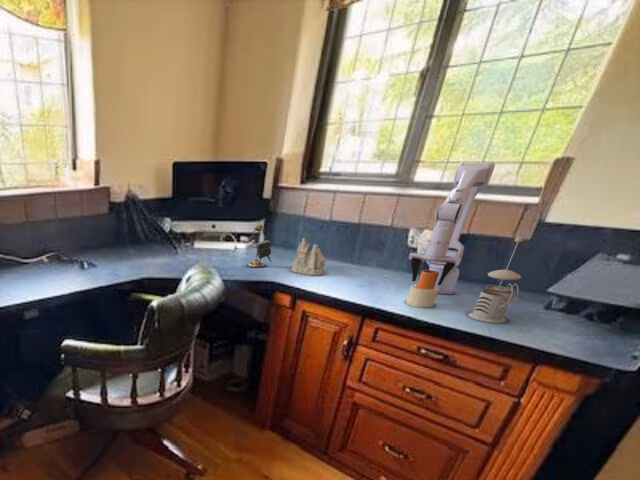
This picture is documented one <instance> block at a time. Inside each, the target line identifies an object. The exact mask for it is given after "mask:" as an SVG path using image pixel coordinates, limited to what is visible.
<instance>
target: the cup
mask: <svg viewBox="0 0 640 480" xmlns="http://www.w3.org/2000/svg"><path fill="white" fill-rule="evenodd" d="M438 275H439V272H438V271H434V270H429V269H422V270H420V273H419V276H418V279H417V283H416V284H417V286H416V287H418V288H421V289H434V287H435V284H436V281H437V278H438Z"/></svg>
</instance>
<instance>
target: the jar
mask: <svg viewBox="0 0 640 480" xmlns="http://www.w3.org/2000/svg"><path fill="white" fill-rule="evenodd" d="M416 286H417V283H415V284H412V285H411V286H410V288H409V292H408V295H407V298H406V302H405V303H406V304H407V305H409V306H412V307H416V308H432V307H434V304H435V302H436V300H437V296H438V294H439V293H438V291H439V288H438V287H434V289H421V288H418V287H416Z"/></svg>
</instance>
